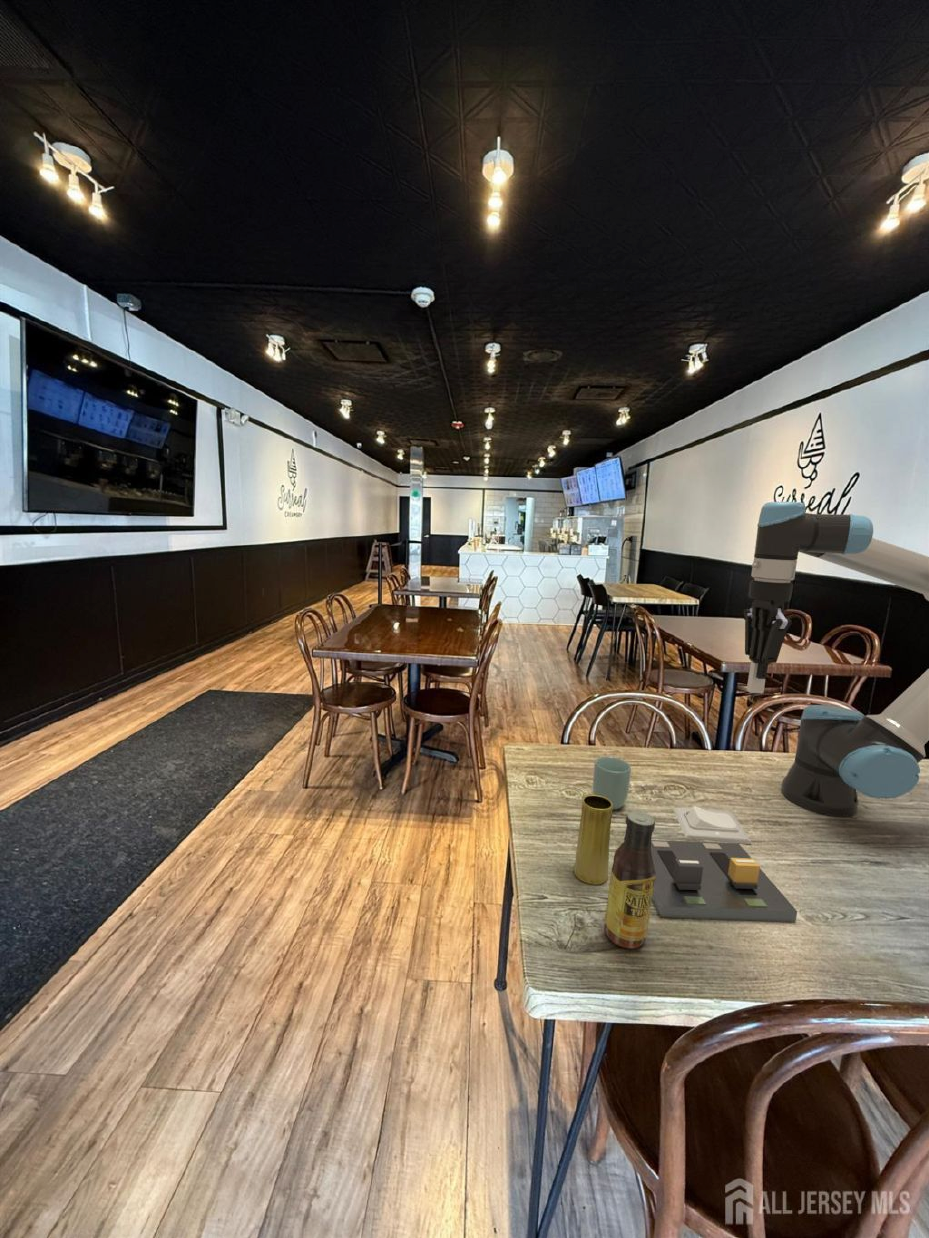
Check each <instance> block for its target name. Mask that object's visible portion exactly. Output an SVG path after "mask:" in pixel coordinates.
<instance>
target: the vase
mask: <svg viewBox="0 0 929 1238" xmlns="http://www.w3.org/2000/svg"><path fill="white" fill-rule="evenodd" d="M581 803H582V805H581V812H580V813H581V815H580V821H579V828H578V837H577V845H576V852H575V861H574V865H573V874H574V875H575V877H576V878H577V879H578V880H579V881H581V882H583V883H586V884H588V885H602V884H605V883H606V882H607V881H608V878H609V875H608V874H609V858H610V855H609V854H610V852H609V851H610V840H611V826H612V817H613V811H614V810H613V804H612V802H611V801H610V800H609V799H608V798H606V797H603V796H600V795H593V794H587V795H584V796H583V797H582V802H581Z"/></svg>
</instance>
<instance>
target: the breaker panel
mask: <svg viewBox="0 0 929 1238" xmlns="http://www.w3.org/2000/svg"><path fill="white" fill-rule="evenodd" d="M651 853H652V859H653V864H654V868H655V873H656V875H655V882H654V889H653V896H652V903H653V904H654V907H655V909H656V911H657V913H658V915H659V917H660V918H670V919H671V918H672V919H674V918H675V919H676V918H677V919H693V920H694V919H695V920H699V919H700V920H702V919H703V920H724V921H725V920H726V921H729V920H730V921H746V922H747V921H748V922H750V921H751V922H752V921H753V922H754V921H755V922H777V923H797V922H796V921H797V916H798V911H797V909H796V908H795V907H794V906H793V904H792V903H791V902H790V901H789V900H788V899H787V898H786V897H785V895H783V893H782V892H781V891H780V889H779V888H778V887H777V886H776V885H775V884H774V883H773V881H772V880H771V879H770V878H769V876H767V875H766V873H765V872H764V871H763V870H762V868H760V869H759V875H758V881H757V883H756V884H757V885H758V886H757V889H739V888H735V886H734V885H733V884H732V882H731V881H730V880H729V878H728V877H727V873H728V871H729V864H730V858H749V859H753V858H752V857H751V856H750V855H749V854H748V852H747V851H746V850H745V849H744V848H743V847H742V844H739V843H731V842H717V841H715V842H710V841H690V840H687V841H685V840H665V839H664V840H661V839H651ZM675 859H698V860H699V861H700V863H701V864H702V866H703V874H702V881H701V884H700V885H701V890H681V889H679V888H678V886H677V885H676V883H675V881H674V880H673V878H672V875H673V869H674V861H675Z"/></svg>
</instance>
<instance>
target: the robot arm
mask: <svg viewBox="0 0 929 1238" xmlns="http://www.w3.org/2000/svg"><path fill="white" fill-rule="evenodd" d="M756 530H757V532H756V540H755V546H754V554H753V560H752V561H753V563H752V564H751V568H752V569H751V575H750V576H751V577H752V578H753V579H751V581H749V586H748V587H749V589H748V594H747V596H748V598H750V599H753V602H752V603H751V607H750V608H749V609H748V608H747V609H744V610H743V615H744V616H743V617H744V654H745V655H746V656H748V658H749V660H750V665H749V669H748V670H749V671H748V678H747V679H748V680H747V684H746V691H747V692H749V694H750V693H751V694H764V691H765V684H766V678H767V674H768V668H769V665H770V664H776V663H777V662H778V659H779V655H780V653H781V650H782V647H783V645H784V640H785V638H786V635H787V632H788V630H789V629H790V627H791V625H792V622H793V621H792V620H791V618H786V617H785V615H784V614H785V603H786V602H789V601H791V599H792V594H793V588H794V584H793V583H792V582H791V581H794V580H795V577H796V576H795V575H796V570H797V563H798V556H799V553H801V554H804V555H807V556H811V557H814V558H817V559H820V560H823V561H827V562H829V563H832V564H835V565H837V566H840V567H844V568H846V569H849V570H852V571H854V572H858V573H860V574H863V575H867V576H869V577H873V578H876V579H879V580H881V581H884V582H886V583H890V584H893V585H896V586H899V587H902V588H903V589H904V588H905V589H907V590H911V591H914V592H916V593H919V594H922V595H923V596H924V598H925V600H926V601H928V602H929V556H927V555H924V554H921V553H918V552H916V551H912V550H910V549H906V548H904V547H901V546H897V545H895V544H892V543H888V542H885V541H882V540H879V539H876V538H873V536H874V525H873V522H872V520H871V519H870V518H869V517H867V516H865V515H855V514H852V513H851V514H850V513H849V514H835V513H833V514H832V513H828V514H827V513H810V512H806V505H805V503H804V502H797V501H770V502H766V503H764V504H763V505H762V506H761V510H760V513H759V517H758V523H757V529H756ZM928 741H929V668H927V669H926V670H925V672H924V673H922V674H921V675H920V677H918V678H917V679H916V680H915V681H914V682H912V683H911V685H910V686H908V688H906V690H904V691H903V692H902V693H901V694H900V695H899V696H898V697H897V698H895V700H893V702H891V703H890V704H889V705H888V706H887V707H886V708H885V709H884V710H883V711H882V712H881V713H879V714H867V715H865V714H863V713H862V712H860V711H857V710H853V709H849V708H844V707H839V706H833V705H825V704H824V705H823V704H810V705H807V706H805V707H804V709H803V711H802V715H801V717H800V725H799V732H798V737H797V744H796V749H795V750H796V751H795V756H794V762H793V763H792V765H791V766H790V768H789V771H788V772H787V774H786V775H785V777H784V778H783V779H782V781H781V786H780V787H781V788H780V790H781V793H782V795H783V796H784V797H785V798H786V799H787V800H788V801H790V802H792V803H793V804H795V805H797V806H800V807H801V808H804V809H806V810H809V811H812V812H814V813H818V814H822V815H826V816H831V817H839V818H841V817H842V818H844V817H845V818H846V817H851V816H855V815H856V814H857V812H858V809H859V807H858V806H859V799H858V794H857V792H859V793H860V794H862V795H864V796H867V797H868V798H869V797H870V798H873V799H886V800H889V799H894V798H898V797H901V796H903V795H905V794H907V793H909V792H910V791H912V790H913V789H914V787H916V785H917V784H918V782H919V780H920V776H919V774H920V773H921V768H920V765H919V763H920V762H921V761H922V760H923V759H924V758H925V757H926V751H925V744H927V743H928Z"/></svg>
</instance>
